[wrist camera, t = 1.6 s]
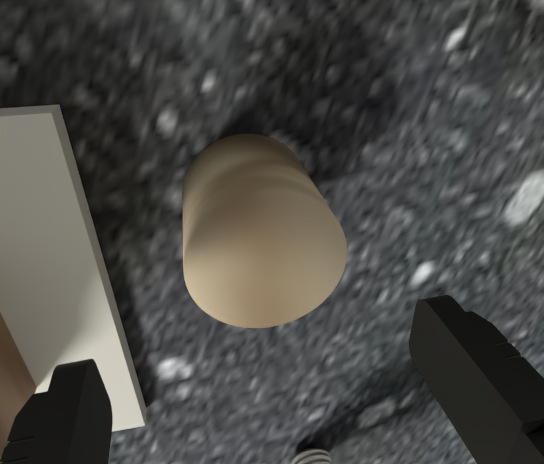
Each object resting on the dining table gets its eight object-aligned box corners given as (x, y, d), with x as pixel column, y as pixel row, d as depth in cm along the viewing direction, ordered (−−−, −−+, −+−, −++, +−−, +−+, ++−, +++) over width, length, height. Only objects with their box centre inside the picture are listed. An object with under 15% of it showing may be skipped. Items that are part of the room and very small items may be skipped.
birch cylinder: (307, 128, 16) (353, 183, 12) (304, 238, 19) (341, 316, 14) (173, 138, 15) (171, 201, 11) (190, 252, 18) (194, 338, 14)
